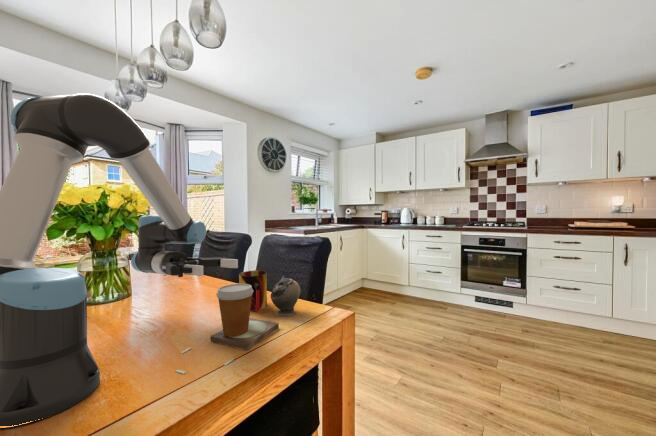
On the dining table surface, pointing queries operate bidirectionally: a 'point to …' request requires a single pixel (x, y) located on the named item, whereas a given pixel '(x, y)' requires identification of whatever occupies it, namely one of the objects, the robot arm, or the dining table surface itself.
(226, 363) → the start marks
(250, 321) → the board
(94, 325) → the dining table surface
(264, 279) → the mug
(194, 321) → the dining table surface
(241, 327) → the disposable coffee cup
